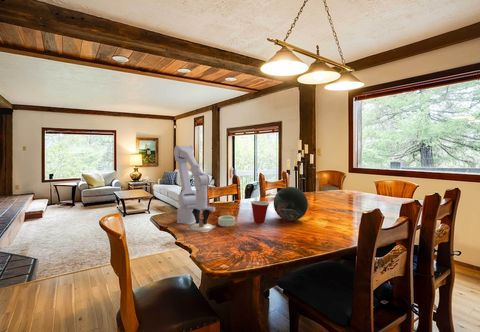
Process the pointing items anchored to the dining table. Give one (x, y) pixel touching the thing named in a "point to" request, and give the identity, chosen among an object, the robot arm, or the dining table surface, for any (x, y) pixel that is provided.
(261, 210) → the plastic cup
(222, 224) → the bowl
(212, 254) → the dining table surface
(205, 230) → the mat
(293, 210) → the decorative sphere
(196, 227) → the lid
